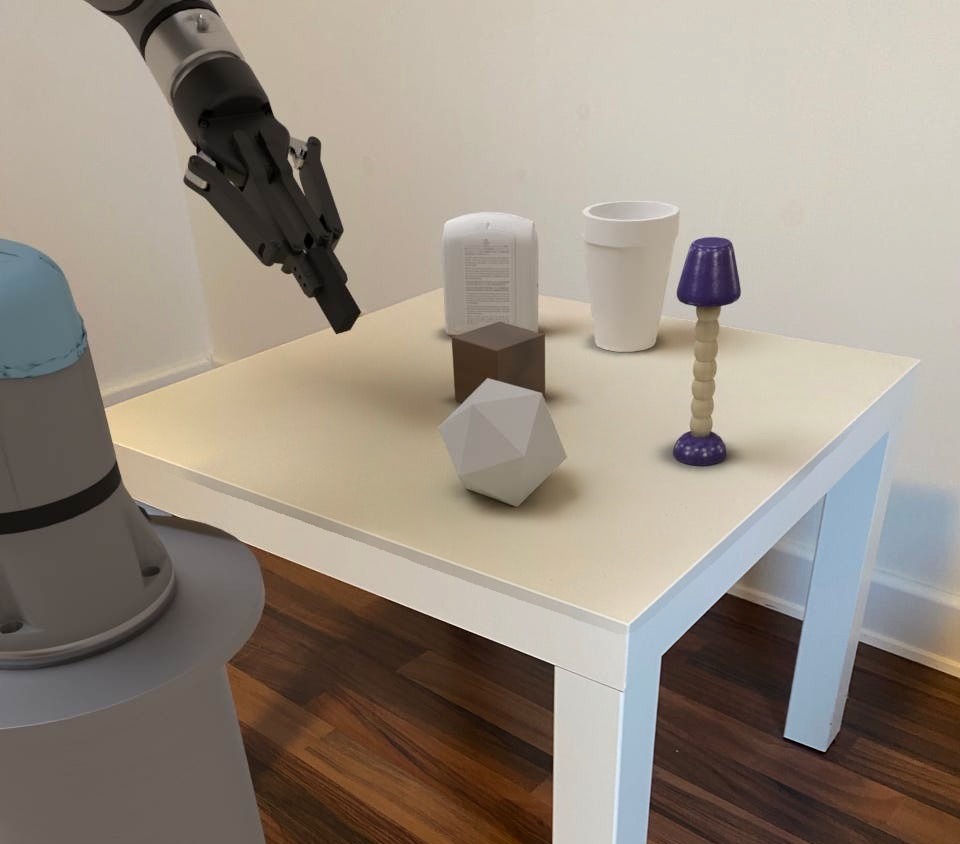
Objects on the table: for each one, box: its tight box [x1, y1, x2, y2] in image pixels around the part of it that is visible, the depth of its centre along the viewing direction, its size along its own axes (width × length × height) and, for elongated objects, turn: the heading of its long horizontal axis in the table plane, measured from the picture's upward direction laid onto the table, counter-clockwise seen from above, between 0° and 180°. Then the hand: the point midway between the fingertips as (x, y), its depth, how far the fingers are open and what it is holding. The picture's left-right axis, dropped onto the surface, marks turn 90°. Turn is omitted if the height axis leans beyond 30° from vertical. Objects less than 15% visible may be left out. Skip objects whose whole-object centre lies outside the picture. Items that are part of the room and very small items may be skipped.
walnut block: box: [451, 322, 546, 404], centre depth 92 cm, size 6×6×6 cm
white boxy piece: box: [440, 211, 539, 336], centre depth 107 cm, size 10×4×12 cm, turn 81°
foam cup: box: [580, 199, 681, 353], centre depth 102 cm, size 10×9×13 cm
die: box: [437, 378, 568, 508], centre depth 76 cm, size 8×9×10 cm
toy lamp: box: [672, 236, 742, 466], centre depth 77 cm, size 5×5×17 cm
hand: (348, 323), depth 84 cm, fingers closed
